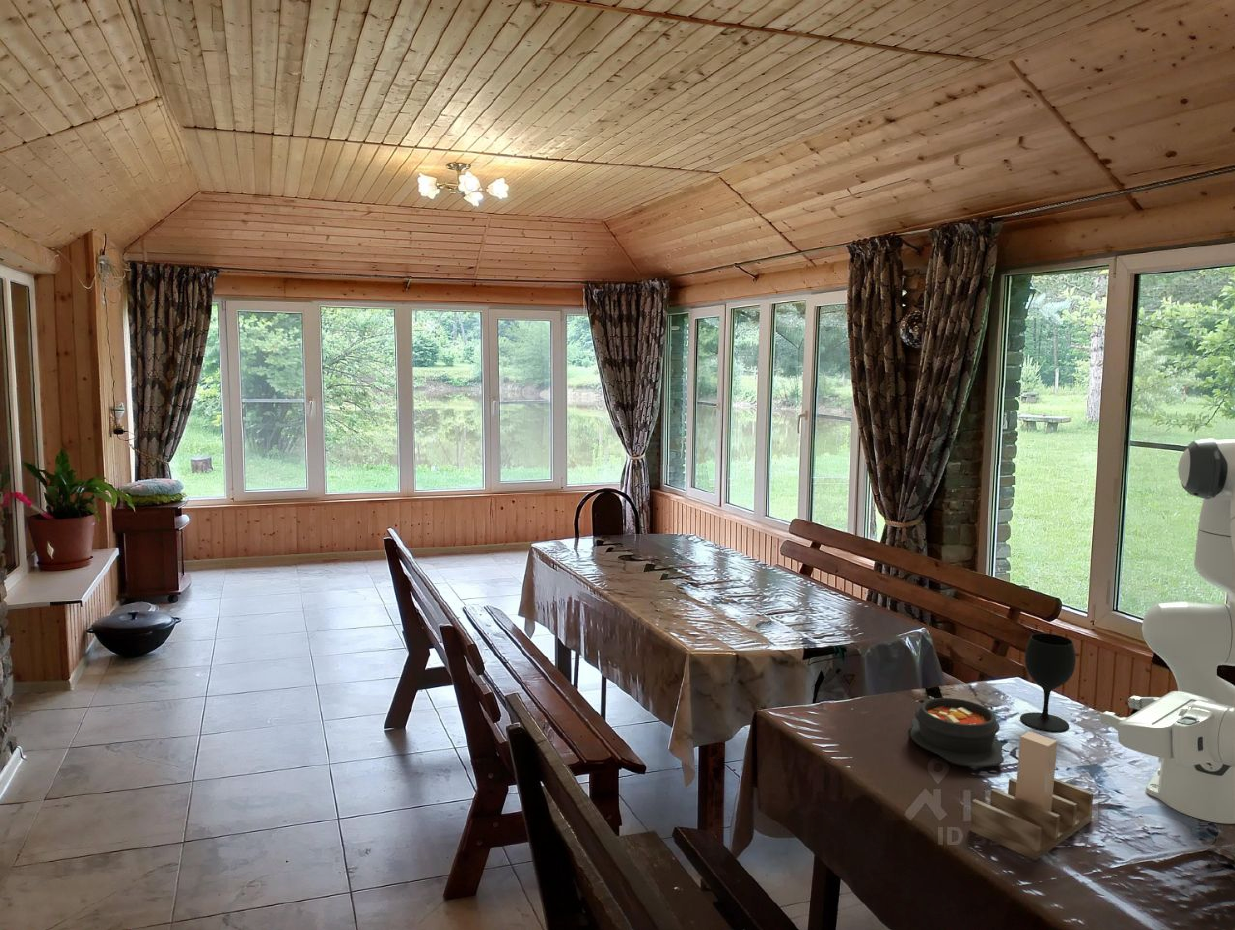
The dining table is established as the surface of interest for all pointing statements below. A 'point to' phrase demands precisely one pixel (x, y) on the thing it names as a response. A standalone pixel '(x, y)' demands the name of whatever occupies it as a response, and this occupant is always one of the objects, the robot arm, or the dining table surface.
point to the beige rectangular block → (1036, 770)
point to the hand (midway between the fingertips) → (1116, 708)
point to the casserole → (958, 732)
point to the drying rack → (1032, 818)
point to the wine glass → (1048, 675)
